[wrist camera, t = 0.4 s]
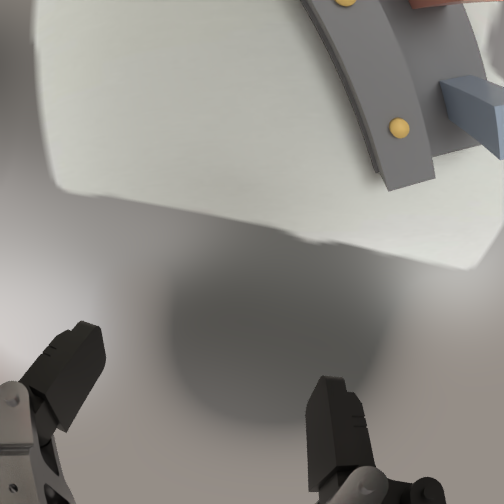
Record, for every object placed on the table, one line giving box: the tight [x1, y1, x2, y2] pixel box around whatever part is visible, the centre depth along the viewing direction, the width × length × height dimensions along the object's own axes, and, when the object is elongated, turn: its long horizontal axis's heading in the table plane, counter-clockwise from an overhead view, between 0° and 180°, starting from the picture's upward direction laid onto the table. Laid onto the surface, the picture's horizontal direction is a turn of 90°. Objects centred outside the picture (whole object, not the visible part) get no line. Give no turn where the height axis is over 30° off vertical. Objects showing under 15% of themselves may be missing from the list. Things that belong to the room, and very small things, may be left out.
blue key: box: [439, 75, 504, 160], centre depth 19 cm, size 5×5×12 cm
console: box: [300, 0, 487, 192], centre depth 20 cm, size 28×19×7 cm
